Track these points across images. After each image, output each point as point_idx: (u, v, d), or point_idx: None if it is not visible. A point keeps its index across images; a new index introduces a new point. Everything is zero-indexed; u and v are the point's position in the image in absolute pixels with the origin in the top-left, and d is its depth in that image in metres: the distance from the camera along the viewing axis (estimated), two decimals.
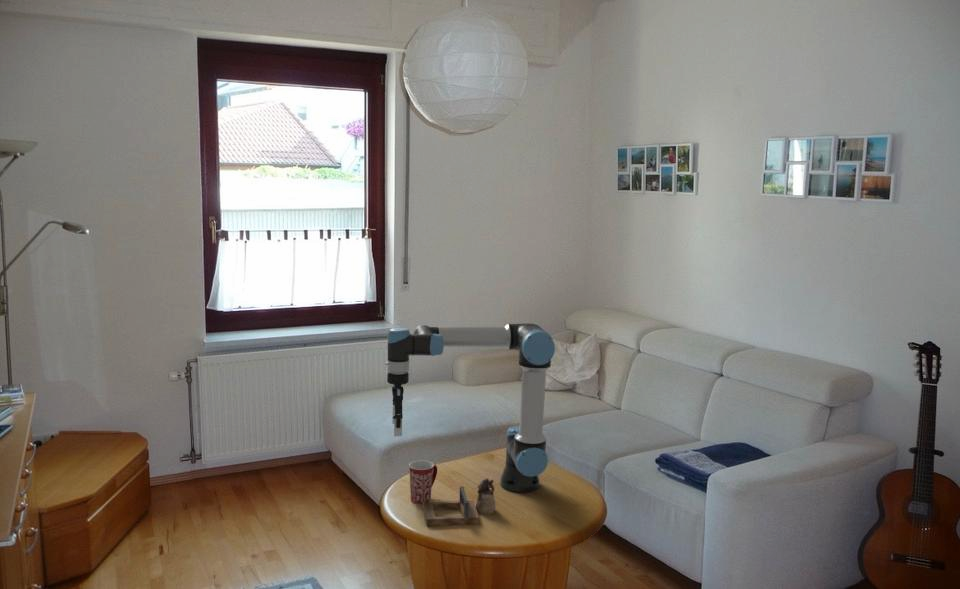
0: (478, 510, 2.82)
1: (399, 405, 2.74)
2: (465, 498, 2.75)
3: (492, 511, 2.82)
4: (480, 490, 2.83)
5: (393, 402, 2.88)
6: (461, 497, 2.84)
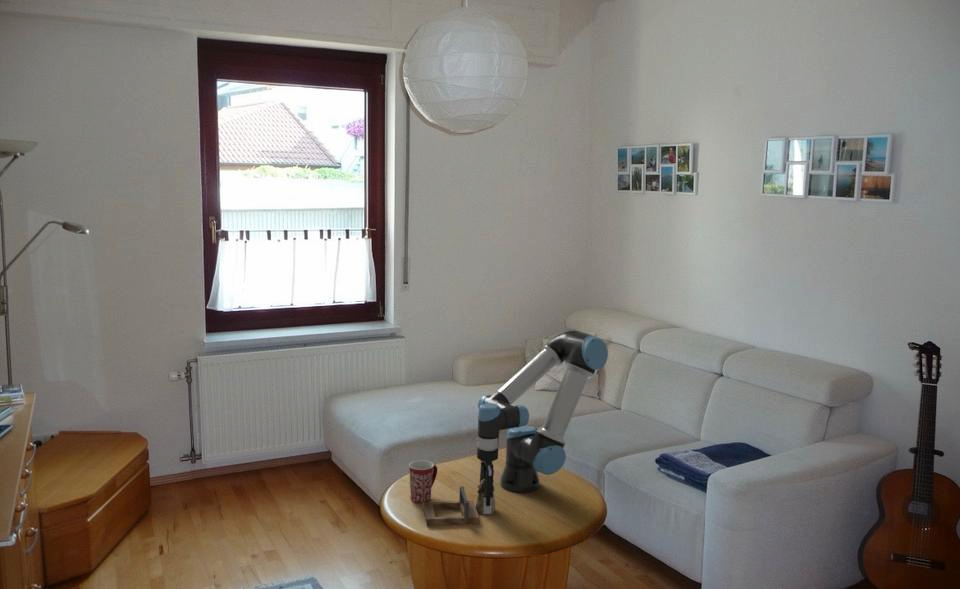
0: (478, 510, 2.82)
1: (489, 485, 2.76)
2: (465, 498, 2.75)
3: (492, 511, 2.82)
4: (480, 490, 2.83)
5: None
6: (461, 497, 2.84)
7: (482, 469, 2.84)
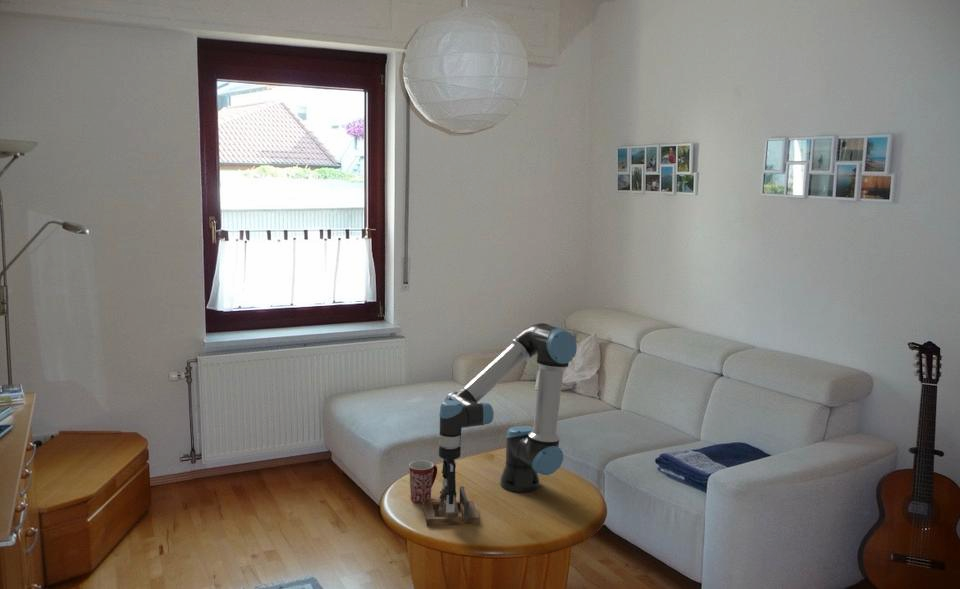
0: (440, 516, 2.76)
1: (452, 481, 2.68)
2: (465, 498, 2.75)
3: None
4: (442, 496, 2.77)
5: (443, 474, 2.83)
6: (461, 497, 2.84)
7: None
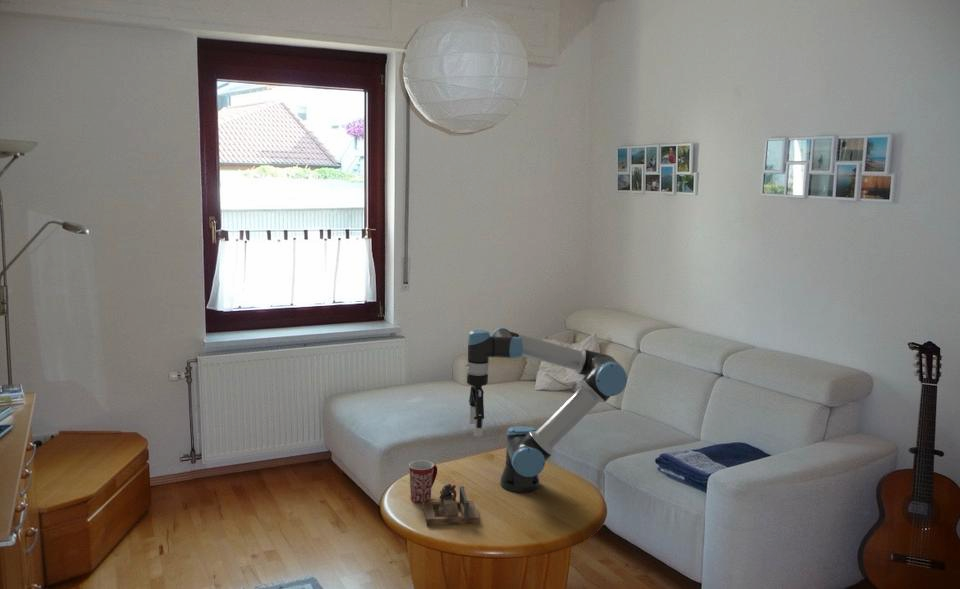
0: (440, 516, 2.76)
1: (480, 406, 2.80)
2: (465, 498, 2.75)
3: None
4: (442, 496, 2.77)
5: (470, 403, 2.94)
6: (461, 497, 2.84)
7: (472, 394, 2.90)
